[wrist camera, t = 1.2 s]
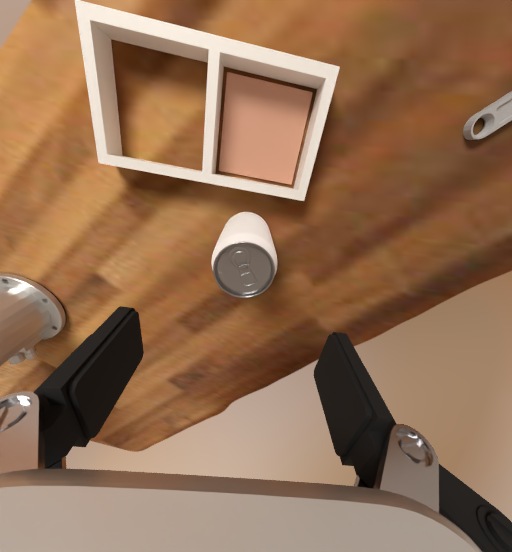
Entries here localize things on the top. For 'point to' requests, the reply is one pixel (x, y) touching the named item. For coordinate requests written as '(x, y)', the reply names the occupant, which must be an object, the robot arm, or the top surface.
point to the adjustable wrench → (490, 118)
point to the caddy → (216, 102)
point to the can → (244, 256)
